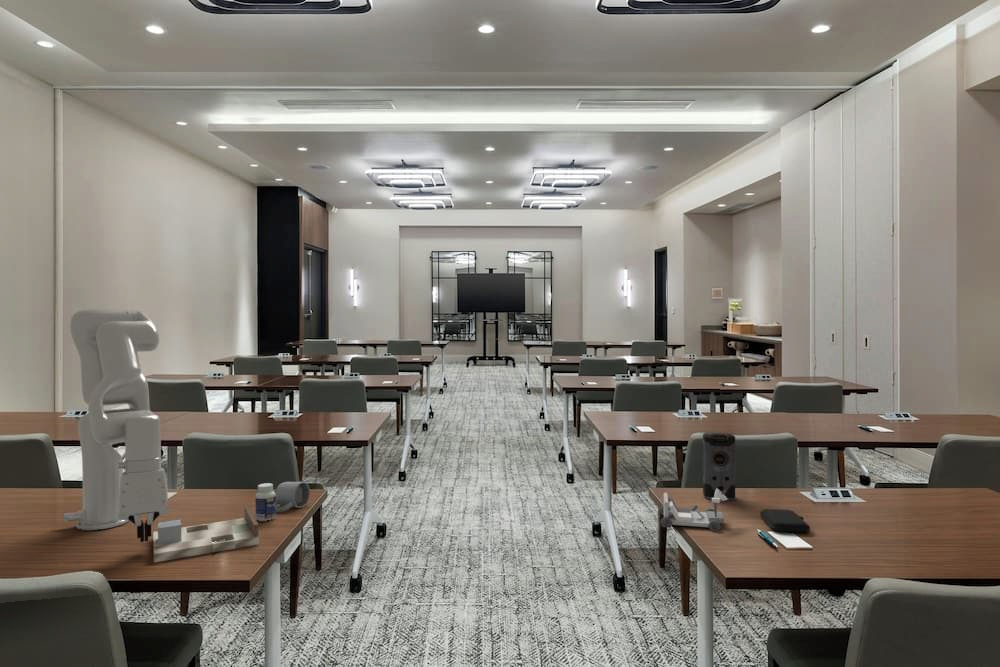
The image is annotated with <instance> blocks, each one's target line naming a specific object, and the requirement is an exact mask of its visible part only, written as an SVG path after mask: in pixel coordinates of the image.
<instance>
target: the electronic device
mask: <svg viewBox="0 0 1000 667" xmlns="http://www.w3.org/2000/svg"><path fill="white" fill-rule="evenodd" d="M716 489H719V490H720V491H721V492H724V491H725V490H726V492H725V493H724V495H725V497H726V498H727V499H728V500H727V501H734V500H735V499H736V436H735V435H734V434H732V433H720V432H719V433H718V432H716V433H715V432H704V433H703V434H702V495H703V497H704V499H706V500H712V498H714V494H715V491H716Z"/></svg>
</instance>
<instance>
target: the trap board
mask: <svg viewBox="0 0 1000 667" xmlns="http://www.w3.org/2000/svg"><path fill="white" fill-rule="evenodd" d="M259 526H260V525H259V522H258V521H257V520H256V517H255V516H254V514H253V512H252V511H251V509H250V507H249V506H244V517H242V518H235V519H229V520H223V521H216V522H210V523H203V524H202V523H201V524H196V525H188V526H181V541H178V542H172V543H166V544H160V545H158V530H157V531H156V530H155V531H153V532H152V533H153V534H152V535H153V537H152V539H153V540H152V541H153V563H159V562H166V561H169V560H176V559H181V558H188V557H194V556H200V555H205V554H212V553H217V552H223V551H228V550H235V549H241V548H245V547H252V546H257V545H258V544H259V541H260V540H259V535H260V534H259V531H260V530H259V528H260V527H259ZM223 539H225V540H227V541H221V542H215V541H219V540H223ZM212 542H215V543H212ZM258 546H259V545H258ZM211 552H212V553H211Z"/></svg>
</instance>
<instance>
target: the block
mask: <svg viewBox="0 0 1000 667" xmlns="http://www.w3.org/2000/svg"><path fill="white" fill-rule="evenodd" d="M181 527H182V521H181V519H174V520H167V521H159V522H157V531H158V545H160V544H166V543H172V542H178V541H181Z"/></svg>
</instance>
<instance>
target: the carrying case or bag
mask: <svg viewBox="0 0 1000 667" xmlns="http://www.w3.org/2000/svg"><path fill="white" fill-rule="evenodd" d="M759 515H760V517H761V519H762V520H763V521H764V522H765V523H766V525H767V526H768V527H769V528H770V529H771V531H772V532H774V533H776V534H793V535H807V534H809V532H810V530H811V526H810V525H809V524H808V523H807V522H805V521H804V517H803V516H802V515H800V514H797V513H796V512H795V511H793V510H791V509H772V508H771V509H770V508H768V509H767V508H765V509H762V510H761V512H760V513H759Z"/></svg>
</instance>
